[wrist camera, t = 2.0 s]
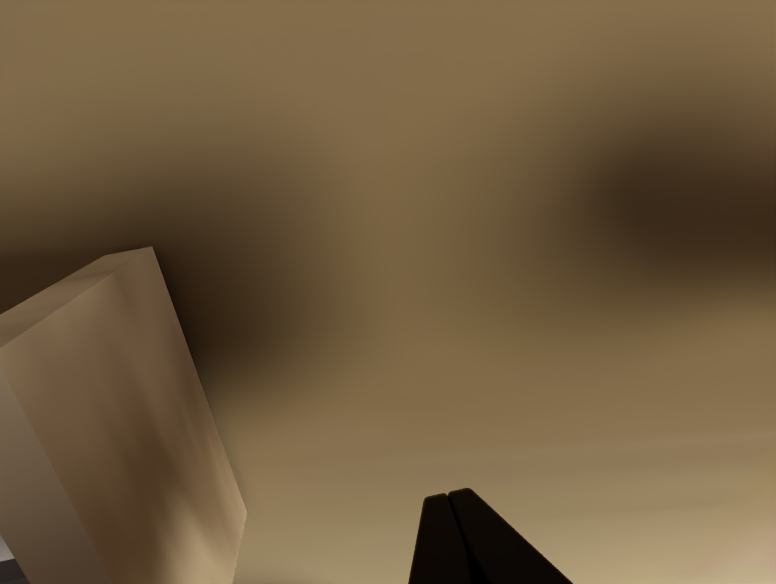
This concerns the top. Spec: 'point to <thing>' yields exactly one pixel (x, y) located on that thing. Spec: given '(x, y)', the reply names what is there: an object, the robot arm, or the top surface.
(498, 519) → the robot arm
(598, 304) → the top surface
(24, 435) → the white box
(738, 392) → the top surface
